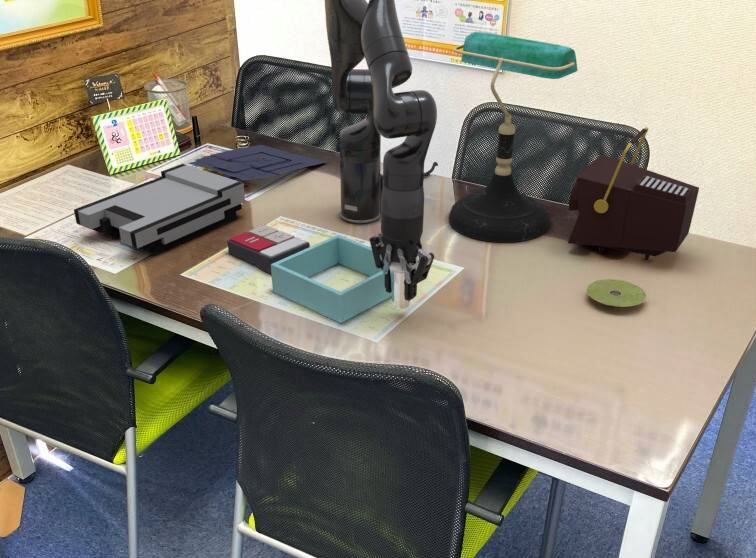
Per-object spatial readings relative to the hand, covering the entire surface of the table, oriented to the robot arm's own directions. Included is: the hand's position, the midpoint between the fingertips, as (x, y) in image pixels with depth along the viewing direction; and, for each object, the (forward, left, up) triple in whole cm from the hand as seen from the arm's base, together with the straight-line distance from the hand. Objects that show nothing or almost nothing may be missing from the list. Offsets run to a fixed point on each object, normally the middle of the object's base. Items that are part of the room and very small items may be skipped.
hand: (400, 294), depth 162 cm
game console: (+5, -67, -5) cm, 67 cm away
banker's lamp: (-49, -12, -5) cm, 51 cm away
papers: (-34, -79, -5) cm, 86 cm away
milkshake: (0, 0, -2) cm, 2 cm away
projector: (-55, +17, -5) cm, 58 cm away
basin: (0, -16, -5) cm, 17 cm away
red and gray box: (-1, -38, -5) cm, 38 cm away
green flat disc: (-33, +27, -5) cm, 43 cm away
